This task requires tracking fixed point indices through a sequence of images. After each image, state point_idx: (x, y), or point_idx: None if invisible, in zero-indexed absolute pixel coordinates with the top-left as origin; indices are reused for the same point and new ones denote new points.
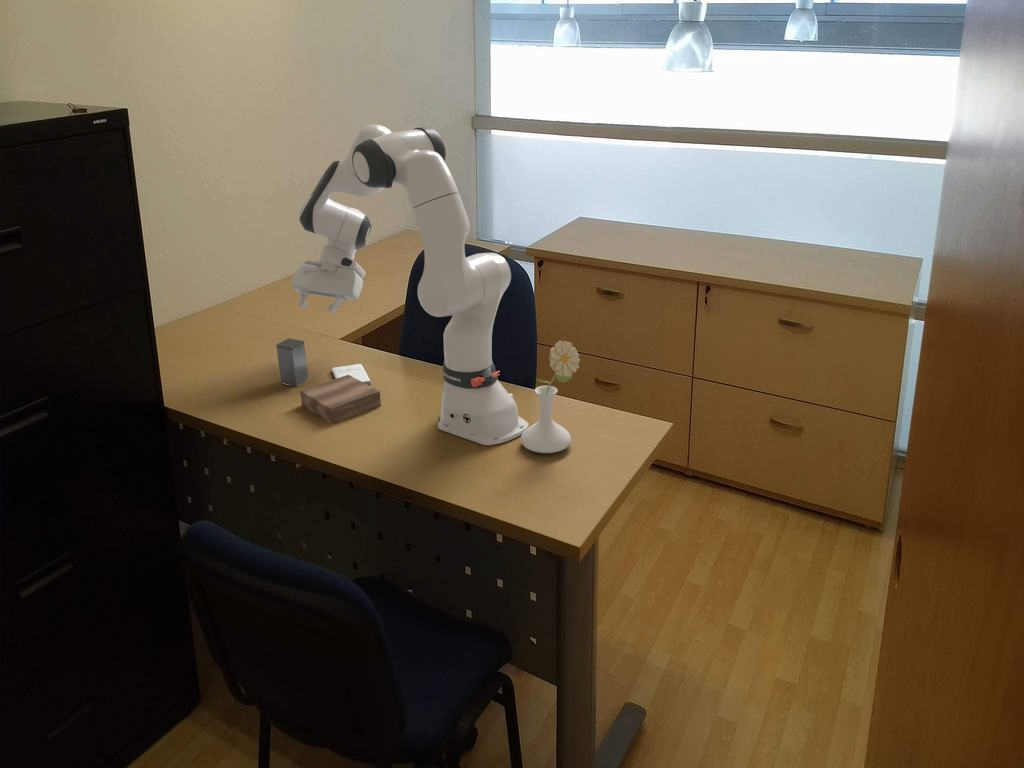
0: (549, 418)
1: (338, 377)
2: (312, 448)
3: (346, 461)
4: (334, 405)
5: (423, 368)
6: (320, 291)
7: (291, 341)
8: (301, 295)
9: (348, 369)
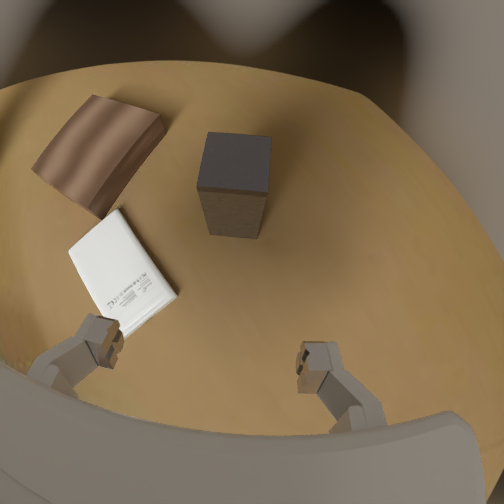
0: None
1: (133, 245)
2: (113, 69)
3: (75, 72)
4: (88, 103)
5: (22, 354)
6: (182, 427)
7: (238, 170)
8: (355, 391)
9: (131, 298)
